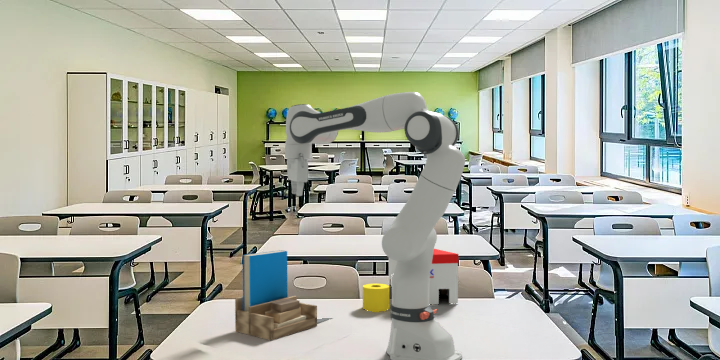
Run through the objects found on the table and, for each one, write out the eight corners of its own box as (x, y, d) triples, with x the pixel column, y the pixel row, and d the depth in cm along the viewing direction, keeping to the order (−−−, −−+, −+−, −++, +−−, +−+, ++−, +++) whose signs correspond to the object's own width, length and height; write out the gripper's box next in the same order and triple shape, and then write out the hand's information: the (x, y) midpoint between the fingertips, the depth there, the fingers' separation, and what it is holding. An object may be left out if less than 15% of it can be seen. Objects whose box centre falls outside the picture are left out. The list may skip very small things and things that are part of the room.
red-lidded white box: (405, 310, 223) (405, 255, 223) (388, 291, 258) (388, 243, 257) (458, 308, 226) (458, 254, 225) (434, 290, 260) (434, 242, 260)
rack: (317, 326, 200) (316, 293, 200) (271, 340, 183) (271, 305, 183) (281, 318, 210) (281, 287, 210) (235, 331, 194) (235, 297, 194)
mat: (352, 313, 218) (352, 312, 218) (315, 324, 202) (315, 323, 202) (331, 309, 224) (331, 308, 224) (294, 319, 208) (294, 318, 208)
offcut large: (306, 324, 198) (306, 315, 198) (277, 334, 187) (277, 324, 187) (290, 321, 202) (290, 312, 202) (261, 330, 191) (261, 321, 191)
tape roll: (357, 310, 223) (357, 285, 222) (379, 306, 228) (379, 282, 228) (372, 315, 214) (372, 289, 214) (394, 312, 220) (394, 286, 220)
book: (250, 332, 192) (250, 256, 192) (242, 330, 195) (241, 255, 194) (289, 322, 205) (289, 250, 205) (280, 320, 208) (280, 249, 208)
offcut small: (299, 308, 196) (299, 300, 196) (281, 312, 190) (281, 304, 190) (289, 305, 199) (289, 298, 199) (271, 310, 193) (270, 302, 193)
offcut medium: (300, 316, 197) (300, 307, 197) (279, 323, 188) (279, 314, 188) (286, 314, 200) (286, 305, 200) (265, 321, 191) (265, 312, 191)
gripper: (313, 153, 188) (312, 197, 188) (302, 153, 208) (301, 193, 208) (293, 153, 186) (292, 196, 187) (284, 153, 206) (283, 192, 206)
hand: (297, 194), depth 198 cm, fingers open, 8 cm apart
